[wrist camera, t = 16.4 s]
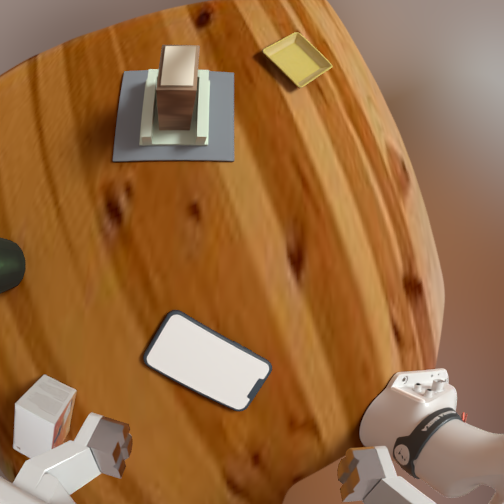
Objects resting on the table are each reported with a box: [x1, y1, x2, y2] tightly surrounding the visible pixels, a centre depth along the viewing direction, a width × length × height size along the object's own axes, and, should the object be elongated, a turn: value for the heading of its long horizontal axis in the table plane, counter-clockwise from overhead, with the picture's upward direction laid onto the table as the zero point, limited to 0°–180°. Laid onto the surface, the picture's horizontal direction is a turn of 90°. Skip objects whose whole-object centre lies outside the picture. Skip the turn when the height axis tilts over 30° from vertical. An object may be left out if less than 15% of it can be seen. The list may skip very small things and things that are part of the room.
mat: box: [113, 70, 234, 162], centre depth 38 cm, size 16×14×1 cm
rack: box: [139, 69, 210, 146], centre depth 36 cm, size 9×10×3 cm
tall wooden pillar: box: [156, 45, 200, 130], centre depth 32 cm, size 4×6×11 cm, turn 1°
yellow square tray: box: [263, 32, 332, 88], centre depth 42 cm, size 9×9×2 cm
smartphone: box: [143, 310, 272, 411], centre depth 39 cm, size 9×2×16 cm
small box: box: [13, 374, 77, 459], centre depth 29 cm, size 8×6×10 cm
